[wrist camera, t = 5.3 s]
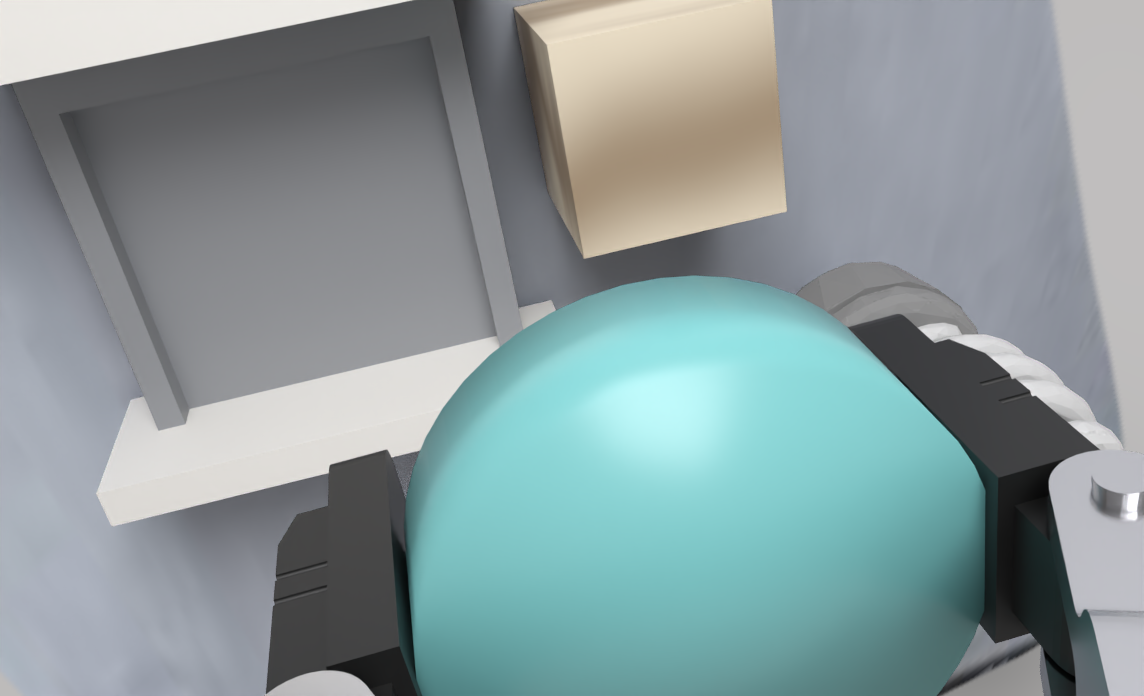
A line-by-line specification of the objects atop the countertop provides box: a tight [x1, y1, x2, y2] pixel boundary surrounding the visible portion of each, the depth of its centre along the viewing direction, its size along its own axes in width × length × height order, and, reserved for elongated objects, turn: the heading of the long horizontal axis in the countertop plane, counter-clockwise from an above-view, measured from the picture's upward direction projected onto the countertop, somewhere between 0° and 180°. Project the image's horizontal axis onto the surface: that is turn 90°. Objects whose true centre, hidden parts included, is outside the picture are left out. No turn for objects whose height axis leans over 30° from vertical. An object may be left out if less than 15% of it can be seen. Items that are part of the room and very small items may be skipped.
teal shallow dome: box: [404, 276, 985, 696], centre depth 11 cm, size 6×6×2 cm
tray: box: [11, 0, 556, 526], centre depth 25 cm, size 13×12×5 cm
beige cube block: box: [513, 0, 787, 259], centre depth 26 cm, size 5×5×5 cm
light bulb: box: [796, 262, 1124, 450], centre depth 27 cm, size 6×6×12 cm
